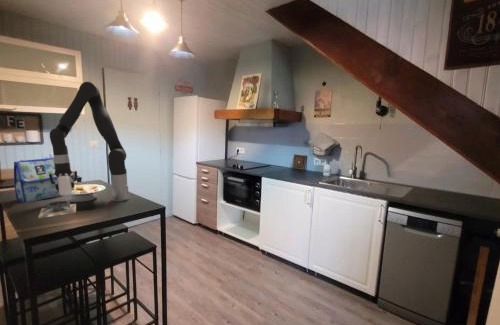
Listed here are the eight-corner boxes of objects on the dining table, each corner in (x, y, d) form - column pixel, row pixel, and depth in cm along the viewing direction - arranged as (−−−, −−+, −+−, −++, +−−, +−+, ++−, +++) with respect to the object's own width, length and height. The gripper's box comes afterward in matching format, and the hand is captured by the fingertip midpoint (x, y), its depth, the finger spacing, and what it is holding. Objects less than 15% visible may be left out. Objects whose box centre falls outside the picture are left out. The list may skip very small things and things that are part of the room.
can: (61, 193, 157) (59, 174, 155) (73, 192, 159) (71, 173, 157) (57, 196, 151) (55, 176, 149) (70, 195, 153) (68, 175, 151)
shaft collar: (72, 204, 151) (71, 199, 151) (71, 212, 138) (71, 207, 137) (45, 207, 145) (45, 202, 144) (42, 217, 131) (42, 211, 130)
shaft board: (76, 206, 153) (75, 203, 153) (76, 215, 138) (75, 212, 138) (42, 210, 144) (41, 208, 144) (38, 221, 129) (37, 218, 129)
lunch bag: (24, 205, 154) (19, 162, 150) (14, 200, 162) (8, 160, 158) (66, 196, 172) (62, 158, 168) (55, 192, 181) (51, 156, 177)
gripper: (76, 160, 159) (79, 186, 162) (47, 162, 151) (50, 189, 154) (76, 161, 153) (79, 188, 156) (46, 164, 145) (50, 192, 148)
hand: (65, 189), depth 155 cm, fingers closed on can, 6 cm apart
